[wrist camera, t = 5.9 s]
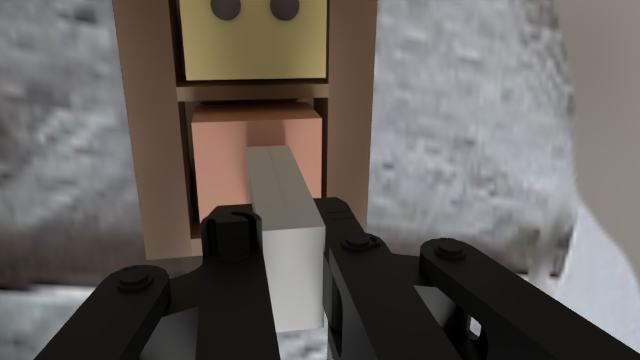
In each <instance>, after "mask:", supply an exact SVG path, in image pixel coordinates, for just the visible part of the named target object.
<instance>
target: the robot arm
mask: <svg viewBox="0 0 640 360" xmlns="http://www.w3.org/2000/svg"><path fill="white" fill-rule="evenodd" d="M246 164H247V185H248V204H236V205H220V206H216V207H215V208H214V209H213V210H212V211H211V212H210V213H209V215H208V216H206V217H205V218H203V219H202V221H201V223H200V230H201V242H202V253H203V263H202V265H201V266H200V267H198V268H197V269H196V270H194V271H192V272H190V273H188V274H185V275H182V276H179V277H175V278H172V279H169V275H168V273H167V272H166V270H164V269H162V268H160V267H158V266H152V265H134V266H131V267H125V268H123V269H121V270H119V271H116V272H114V273H112V274H110V275H109V276H108V277H107V278H105V279H104V280H103V281H102V282H101V283H100V284H99V285H98V287H97V288H96V289H95V290H94V291H93V292H92V293H91V295H90V296H89V297H88V298H87V299H86V300H85V301H84V303H83V304H82V305H81V306H80V307H79V308H78V309H77V311H76V312H75V313H74V314H73V315H72V316H71V317H70V319H69V320H68V321H67V322H66V323H65V324H64V325H63V327H62V328H61V329H60V330H59V331H58V332H57V333H56V335H55V336H54V337H53V338H52V339H51V340H50V342H49V343H48V344H47V345H46V346H45V347H44V348H43V350H42V351H41V352H40V353H39V354H38V355H37V356H36V358H35V359H34V360H280V354H279V347H278V341H277V335H276V333H277V332H286V331H295V330H303V329H312V328H321V327H324V310H325V313H326V316H327V319H328V351H327V360H332V359H334V360H640V354H639V353H638V352H636V351H635V350H633V349H632V348H630V347H628V346H627V345H625V344H624V343H622V342H621V341H619V340H618V339H616V338H614V337H613V336H611V335H610V334H608V333H607V332H605V331H604V330H602V329H600V328H599V327H597V326H596V325H594V324H593V323H591V322H590V321H588V320H586V319H585V318H583V317H582V316H580V315H579V314H577V313H576V312H574V311H572V310H571V309H569V308H568V307H566V306H565V305H563V304H562V303H560V302H559V301H557V300H555V299H554V298H552V297H551V296H549V295H548V294H546V293H545V292H543V291H541V290H540V289H538V288H537V287H535V286H534V285H532V284H531V283H529V282H527V281H526V280H524V279H523V278H521V277H520V276H518V275H517V274H515V273H513V272H512V271H510V270H509V269H507V268H506V267H504V266H503V265H501V264H499V263H498V262H496V261H495V260H493V259H492V258H490V257H489V256H487V255H485V254H484V253H482V252H481V251H479V250H478V249H476V248H475V247H473V246H471V245H469V244H467V243H465V242H462V241H458V240H456V239H452V238H448V239H447V238H440V239H432V240H429V241H426V242H424V243H423V244H422V246H421V247H420V256H409V255H399V254H393V253H391V251H390V250H389V248H388V247H387V245H386V244H385V242H384V241H382V240H381V239H380V238H379V237H377V236H374V235H372V234H368V233H365V232H364V230H363V228H362V227H361V225H360V223H359V222H358V220H357V219H356V217H355V215H354V214H353V212H352V210H351V209H350V207H349V205H348V204H347V203H346V202H344V201H343V200H341V199H339V198H337V197H325V198H312V196H311V193H310V191H309V189H308V187H307V185H306V182H305V180H304V178H303V176H302V173H301V171H300V169H299V167H298V165H297V162H296V160H295V158H294V156H293V154H292V151H291V149H290V147H289V145H280V146H257V147H246ZM471 317H473V318H474V319H475V320H476V321H478V323H479V324H480V325H481V332H480V336H479V337H478V336H477V335H475V334H474V333H473V332H472V331H471V330H470V324H471Z"/></svg>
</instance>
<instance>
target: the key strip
mask: <svg viewBox="0 0 640 360" xmlns="http://www.w3.org/2000/svg"><path fill="white" fill-rule="evenodd" d="M112 4H113V11H114V19H115V26H116V34H117V41H118V49H119V56H120V64H121V71H122V79H123V86H124V94H125V101H126V109H127V116H128V124H129V131H130V138H131V146H132V153H133V161H134V168H135V176H136V183H137V191H138V198H139V206H140V213H141V221H142V228H143V236H144V243H145V251H146V258H147V260H153V259H165V258H176V257H188V256H199V255H203V253H202V242H201V230H200V217H199V205H198V194H197V182H196V170H195V159H194V147H193V136H192V124H191V122H192V118H193V114H194V109H195V105H227V104H261V103H296V102H308V103H309V104H310V106H311V107H312V108H313V109H314V110H315V111H316V112H317V113H318V114H319V116H320V117H321V118H322V162H321V198H325V197H337V198H339V199H341V200H343V201H344V202H346V203H347V204H348V205H349V207H350V209H351V210H352V212H353V214H354V215H355V217H356V219H357V220H358V222H359V223H360V225H361V227H362V228H363V230H364V232H365V233H366V226H367V205H368V184H369V164H370V143H371V122H372V102H373V81H374V60H375V40H376V19H377V0H327V18H326V78H282V79H229V80H186V69H185V58H184V46H183V35H182V23H181V12H180V0H112Z"/></svg>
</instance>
